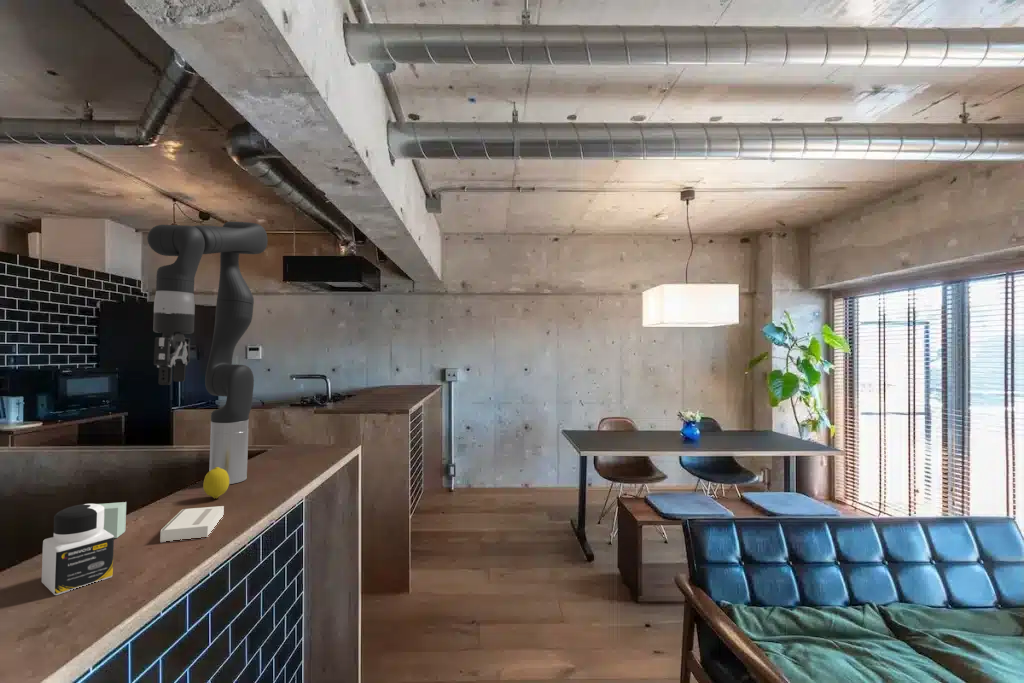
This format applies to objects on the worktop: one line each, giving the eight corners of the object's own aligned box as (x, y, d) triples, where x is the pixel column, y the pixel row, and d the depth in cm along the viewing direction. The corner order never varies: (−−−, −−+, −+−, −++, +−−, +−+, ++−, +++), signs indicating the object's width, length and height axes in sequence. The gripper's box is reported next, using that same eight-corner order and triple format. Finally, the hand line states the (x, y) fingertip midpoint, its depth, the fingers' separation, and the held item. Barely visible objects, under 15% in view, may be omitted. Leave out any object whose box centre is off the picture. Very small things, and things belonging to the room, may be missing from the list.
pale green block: (94, 533, 93) (95, 504, 93) (125, 531, 94) (126, 502, 94) (85, 540, 89) (86, 510, 89) (116, 537, 91) (118, 507, 91)
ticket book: (182, 520, 101) (182, 508, 101) (223, 516, 104) (223, 505, 104) (160, 542, 90) (160, 529, 90) (207, 537, 92) (207, 525, 92)
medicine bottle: (54, 596, 70) (57, 518, 70) (40, 583, 74) (43, 509, 74) (113, 577, 76) (115, 505, 76) (97, 565, 80) (100, 497, 80)
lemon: (233, 495, 118) (234, 464, 118) (217, 502, 112) (219, 470, 112) (214, 494, 118) (215, 463, 118) (197, 501, 113) (198, 469, 113)
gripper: (167, 313, 110) (164, 380, 109) (140, 309, 96) (138, 386, 96) (203, 314, 112) (201, 380, 112) (182, 311, 99) (180, 385, 98)
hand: (172, 383), depth 104 cm, fingers open, 8 cm apart
